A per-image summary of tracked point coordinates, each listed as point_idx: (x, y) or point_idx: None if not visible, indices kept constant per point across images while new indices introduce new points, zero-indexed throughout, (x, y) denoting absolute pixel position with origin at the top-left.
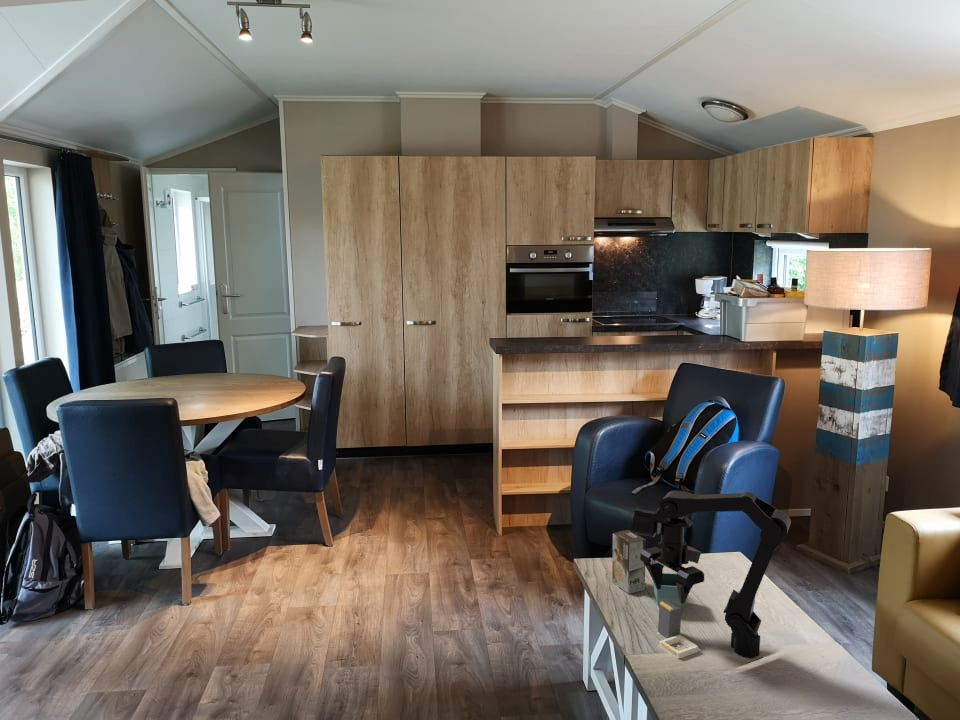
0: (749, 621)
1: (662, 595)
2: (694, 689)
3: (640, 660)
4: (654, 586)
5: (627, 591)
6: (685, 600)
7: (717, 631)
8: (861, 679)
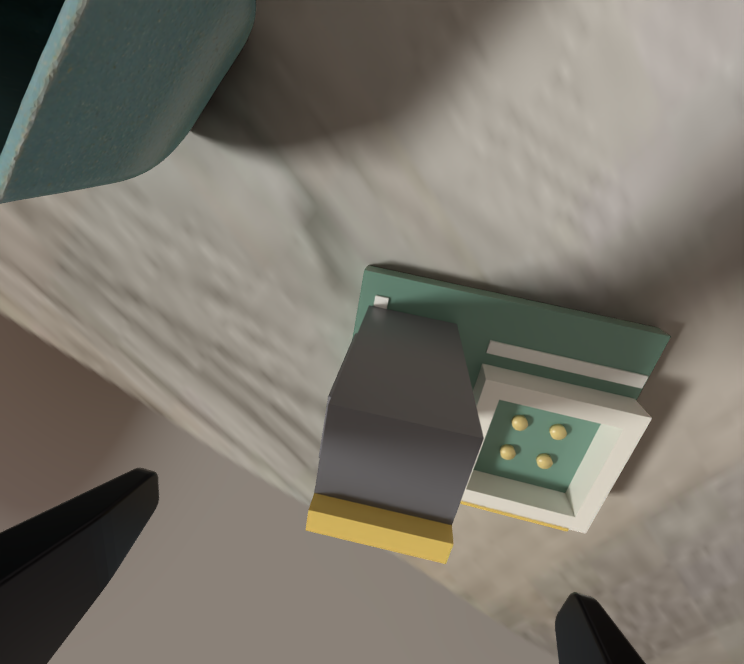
0: None
1: (109, 156)
2: (725, 598)
3: None
4: None
5: None
6: (626, 644)
7: (601, 16)
8: None
